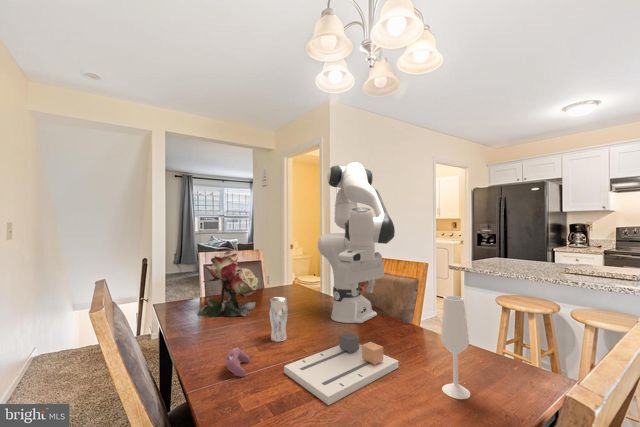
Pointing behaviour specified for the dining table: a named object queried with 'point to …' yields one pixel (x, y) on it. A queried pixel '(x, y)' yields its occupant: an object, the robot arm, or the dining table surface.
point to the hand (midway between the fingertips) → (362, 294)
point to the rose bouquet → (230, 287)
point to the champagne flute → (454, 340)
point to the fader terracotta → (372, 352)
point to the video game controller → (236, 361)
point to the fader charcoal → (349, 342)
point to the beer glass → (278, 318)
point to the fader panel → (337, 372)
